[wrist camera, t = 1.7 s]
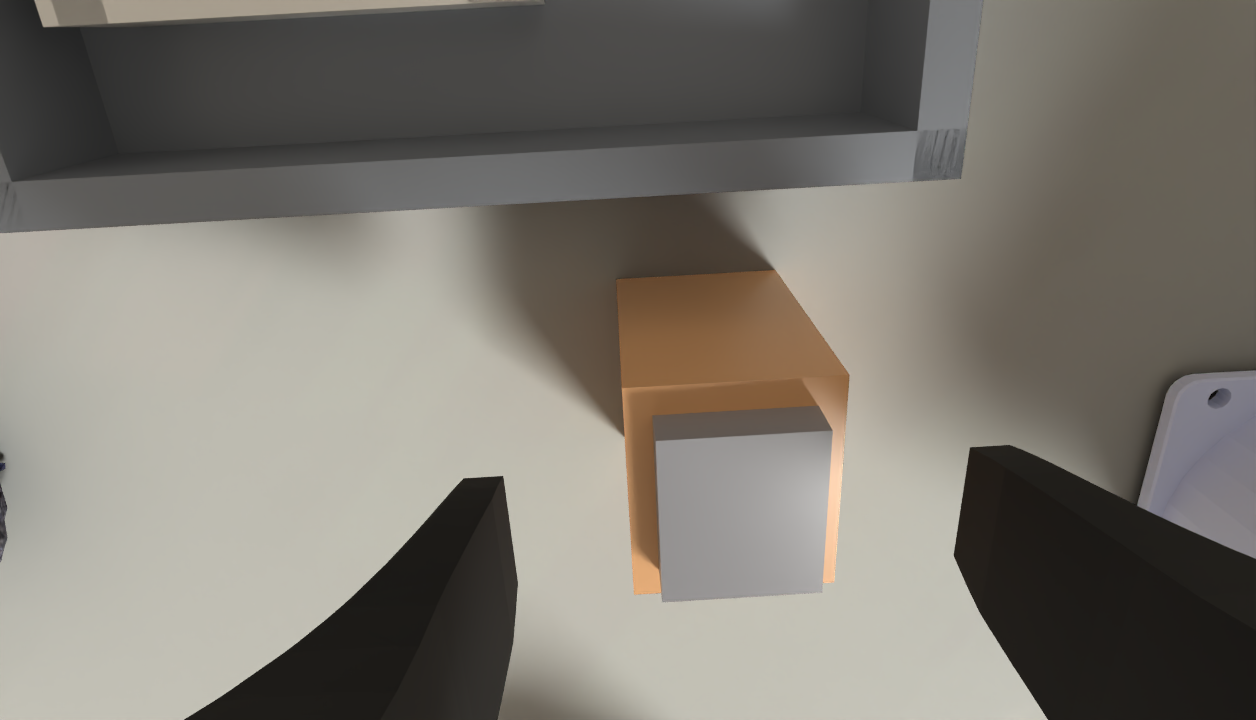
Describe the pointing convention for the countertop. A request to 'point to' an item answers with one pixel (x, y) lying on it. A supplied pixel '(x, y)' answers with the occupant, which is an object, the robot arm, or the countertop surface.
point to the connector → (729, 437)
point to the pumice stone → (2, 518)
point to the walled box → (464, 103)
